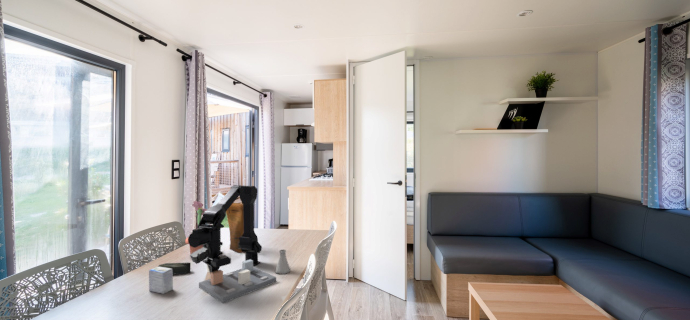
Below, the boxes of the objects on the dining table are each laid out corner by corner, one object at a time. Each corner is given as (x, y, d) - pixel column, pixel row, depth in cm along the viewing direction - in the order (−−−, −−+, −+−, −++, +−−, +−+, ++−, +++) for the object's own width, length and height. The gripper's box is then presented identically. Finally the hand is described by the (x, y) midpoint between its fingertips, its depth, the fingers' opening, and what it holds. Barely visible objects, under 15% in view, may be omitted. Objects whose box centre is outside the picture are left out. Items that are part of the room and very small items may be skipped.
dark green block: (191, 261, 137) (154, 263, 133) (189, 263, 134) (152, 265, 130) (190, 271, 137) (154, 274, 133) (189, 274, 134) (152, 276, 130)
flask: (286, 275, 133) (286, 253, 132) (272, 273, 134) (272, 252, 134) (292, 269, 140) (292, 248, 140) (278, 268, 141) (278, 247, 141)
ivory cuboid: (238, 283, 119) (238, 272, 119) (247, 280, 122) (247, 269, 122) (241, 284, 117) (241, 273, 117) (250, 281, 120) (250, 270, 120)
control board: (198, 287, 120) (198, 281, 120) (250, 270, 138) (250, 264, 138) (222, 303, 107) (222, 296, 107) (276, 281, 125) (276, 275, 125)
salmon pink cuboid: (210, 283, 118) (210, 272, 118) (220, 280, 121) (220, 269, 121) (213, 285, 117) (213, 274, 117) (223, 282, 120) (223, 271, 120)
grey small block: (242, 271, 131) (242, 261, 131) (250, 269, 134) (250, 259, 134) (245, 273, 129) (245, 263, 129) (253, 270, 132) (253, 260, 132)
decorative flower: (219, 253, 161) (219, 200, 161) (195, 261, 149) (195, 203, 149) (204, 249, 169) (203, 198, 169) (180, 256, 157) (179, 201, 157)
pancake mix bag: (239, 255, 158) (239, 204, 158) (222, 248, 171) (222, 201, 170) (250, 252, 163) (250, 203, 163) (233, 245, 176) (233, 199, 176)
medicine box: (173, 289, 118) (173, 268, 118) (163, 294, 114) (163, 272, 114) (159, 286, 120) (158, 265, 120) (148, 291, 116) (148, 269, 116)
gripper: (183, 240, 121) (183, 277, 121) (203, 249, 109) (203, 291, 109) (210, 234, 129) (210, 269, 129) (231, 243, 117) (231, 281, 117)
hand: (213, 277), depth 121 cm, fingers closed
